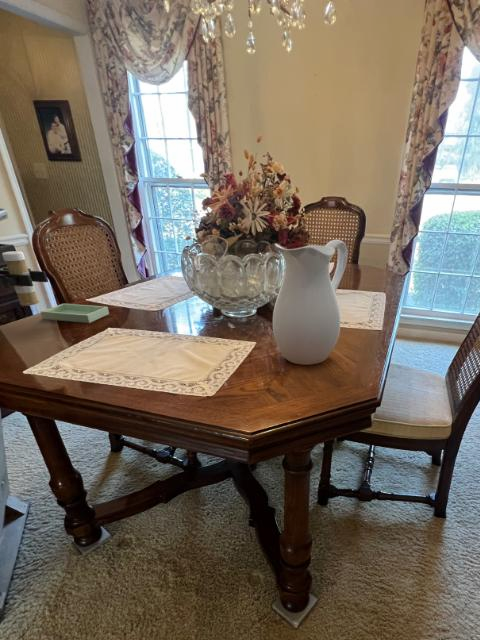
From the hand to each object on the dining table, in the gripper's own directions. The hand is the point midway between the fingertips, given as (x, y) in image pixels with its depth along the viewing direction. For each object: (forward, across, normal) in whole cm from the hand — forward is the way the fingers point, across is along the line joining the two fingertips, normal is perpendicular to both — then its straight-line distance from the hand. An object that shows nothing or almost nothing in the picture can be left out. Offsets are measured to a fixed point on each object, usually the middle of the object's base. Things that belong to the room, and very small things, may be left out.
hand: (38, 278), depth 100 cm
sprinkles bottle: (-5, 0, -7) cm, 9 cm away
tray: (-11, -21, -17) cm, 29 cm away
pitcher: (+73, -7, -17) cm, 76 cm away
